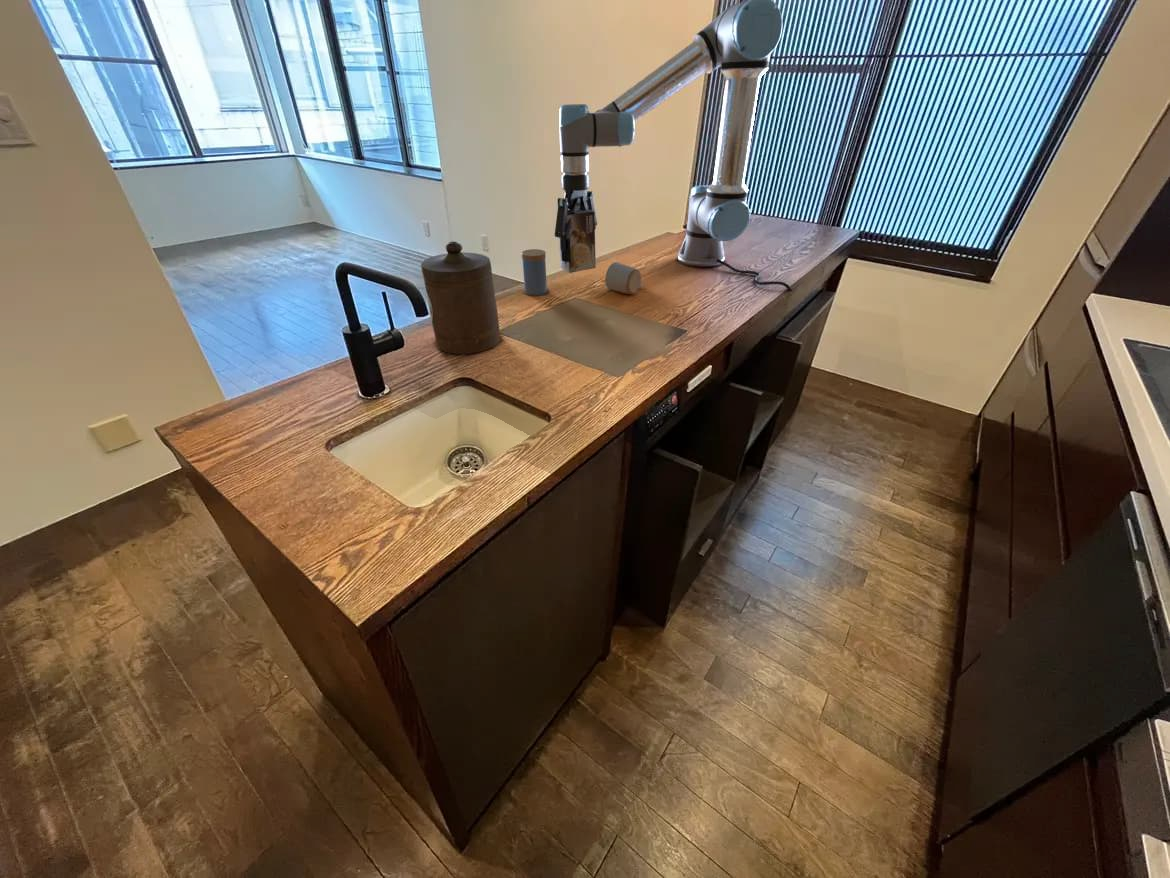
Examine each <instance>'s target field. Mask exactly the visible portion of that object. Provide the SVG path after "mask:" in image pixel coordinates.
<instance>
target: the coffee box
mask: <svg viewBox="0 0 1170 878" xmlns="http://www.w3.org/2000/svg"><path fill="white" fill-rule="evenodd" d="M594 212H595V213H596V210H595V211H592V210H589V209H587V210H578V211H576V214H572V215H571V214H567V217H566V223H568V221H569V219H570V218H571V228H570V231H569V235H568V238H570V254H571V262H564V261H562V253H561V246H560V238H558V246H559V261H560V262H559V263H560V268H561V269H562V270H564V271H565V272H567V273H569V274H571V273H576V272H582V271H588V270H593V269H596V268H597V264H596V263H597V261H596V229H595V213H594ZM564 234H565V232H564Z"/></svg>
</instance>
